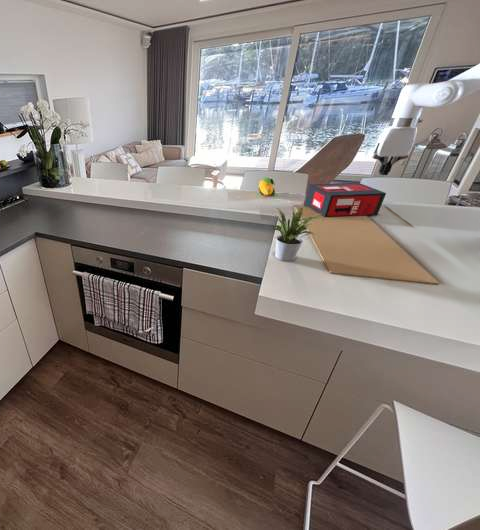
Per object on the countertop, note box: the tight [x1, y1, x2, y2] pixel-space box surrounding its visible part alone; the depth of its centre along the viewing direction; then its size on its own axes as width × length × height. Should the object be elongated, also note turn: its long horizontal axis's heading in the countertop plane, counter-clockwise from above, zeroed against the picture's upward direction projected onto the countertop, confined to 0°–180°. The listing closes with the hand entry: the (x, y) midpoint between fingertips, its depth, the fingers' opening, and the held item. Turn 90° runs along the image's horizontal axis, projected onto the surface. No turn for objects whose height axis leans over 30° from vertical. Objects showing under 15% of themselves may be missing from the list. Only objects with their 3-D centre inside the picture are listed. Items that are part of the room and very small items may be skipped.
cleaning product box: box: [303, 182, 387, 217], centre depth 119 cm, size 16×9×20 cm
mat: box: [294, 205, 440, 285], centre depth 101 cm, size 24×58×1 cm, turn 161°
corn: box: [258, 177, 276, 198], centre depth 144 cm, size 7×8×20 cm
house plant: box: [270, 206, 324, 262], centre depth 85 cm, size 14×14×16 cm
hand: (383, 174), depth 114 cm, fingers closed
